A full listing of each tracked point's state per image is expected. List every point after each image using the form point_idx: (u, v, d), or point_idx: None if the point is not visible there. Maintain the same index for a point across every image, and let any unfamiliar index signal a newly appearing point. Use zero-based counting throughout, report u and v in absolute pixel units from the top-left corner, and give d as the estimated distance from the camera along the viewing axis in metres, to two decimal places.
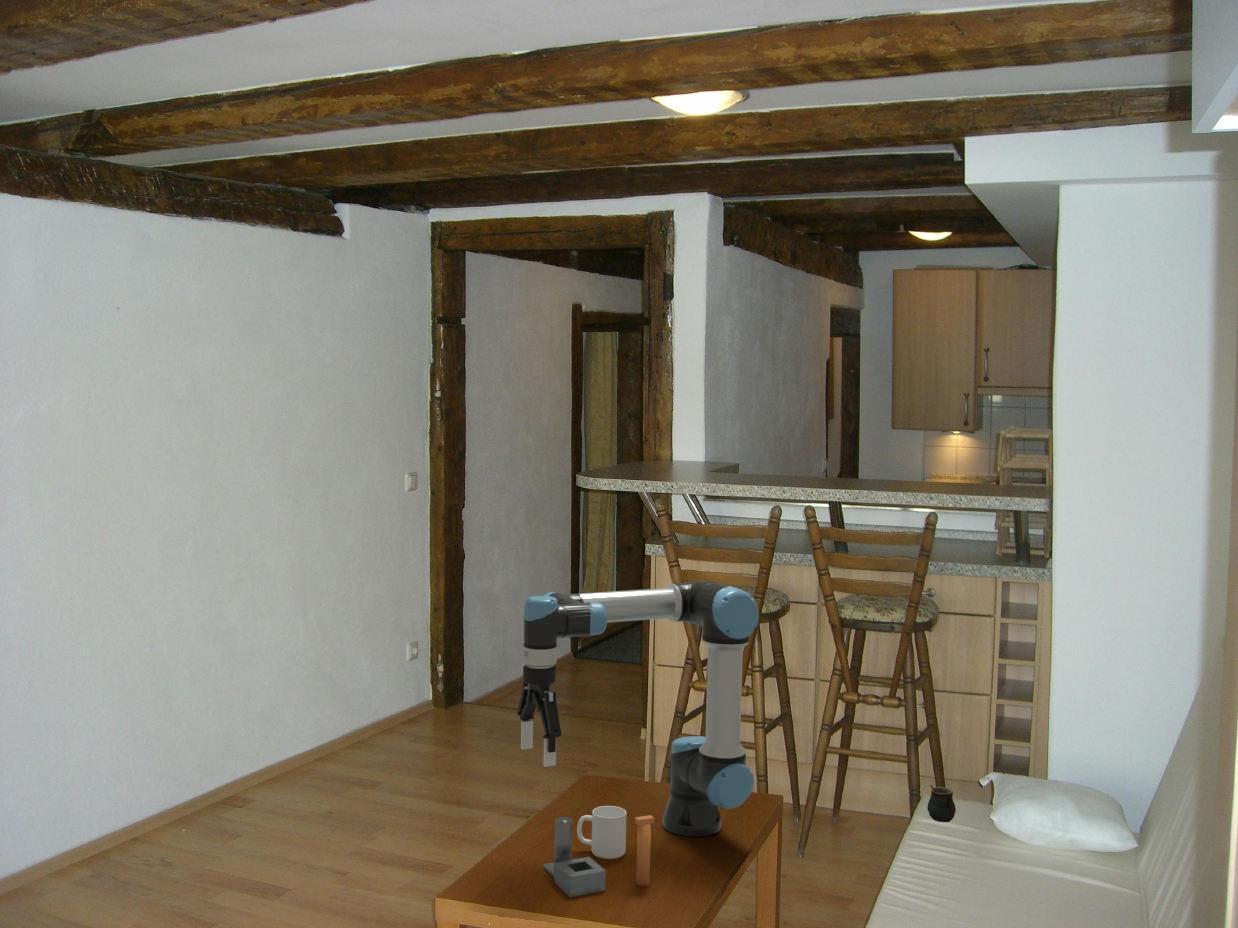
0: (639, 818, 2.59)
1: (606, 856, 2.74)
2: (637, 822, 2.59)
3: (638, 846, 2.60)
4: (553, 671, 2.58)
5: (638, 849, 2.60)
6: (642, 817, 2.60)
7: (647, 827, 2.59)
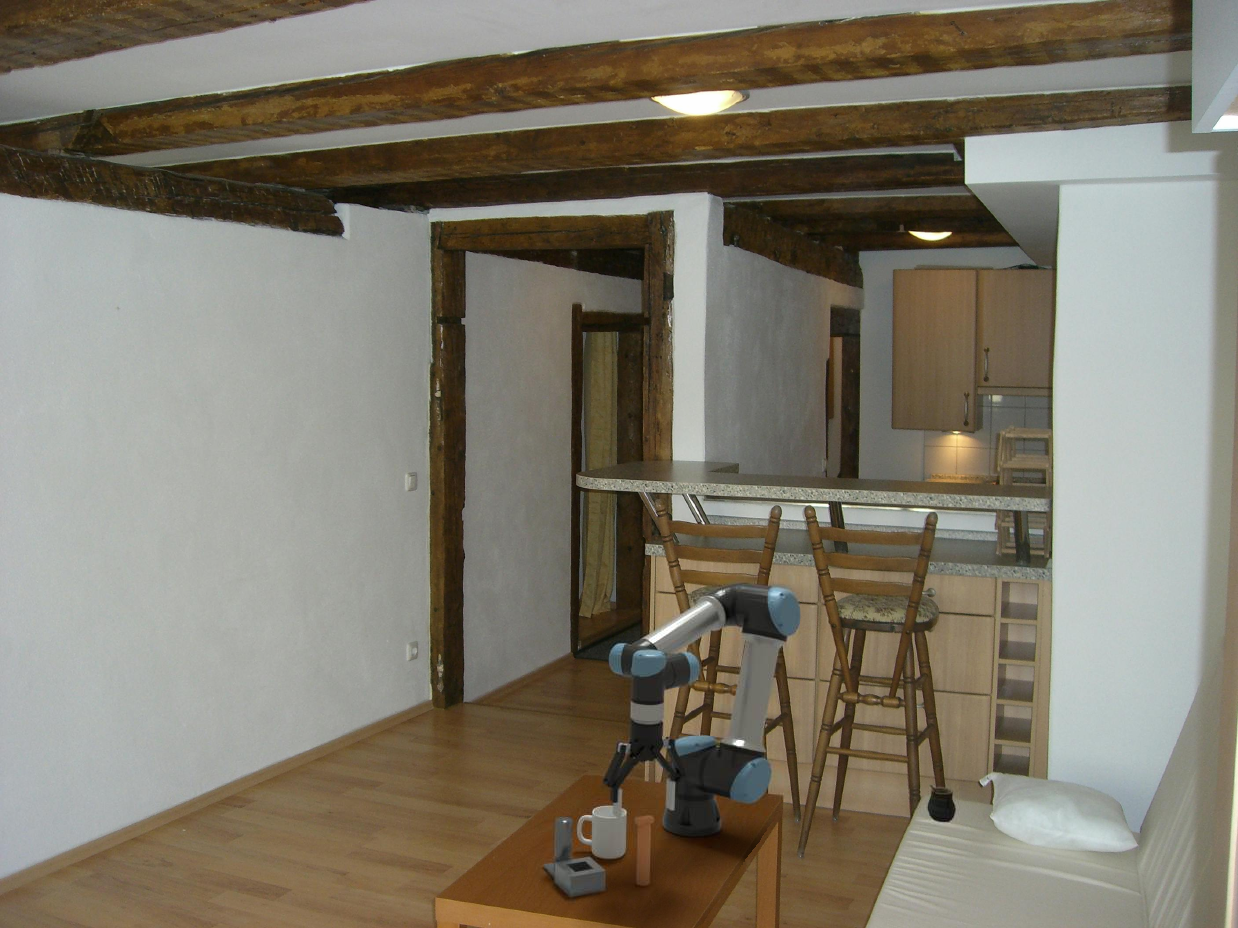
0: (639, 818, 2.59)
1: (606, 856, 2.74)
2: (637, 822, 2.59)
3: (638, 846, 2.60)
4: (638, 727, 2.56)
5: (638, 849, 2.60)
6: (642, 817, 2.60)
7: (647, 827, 2.59)
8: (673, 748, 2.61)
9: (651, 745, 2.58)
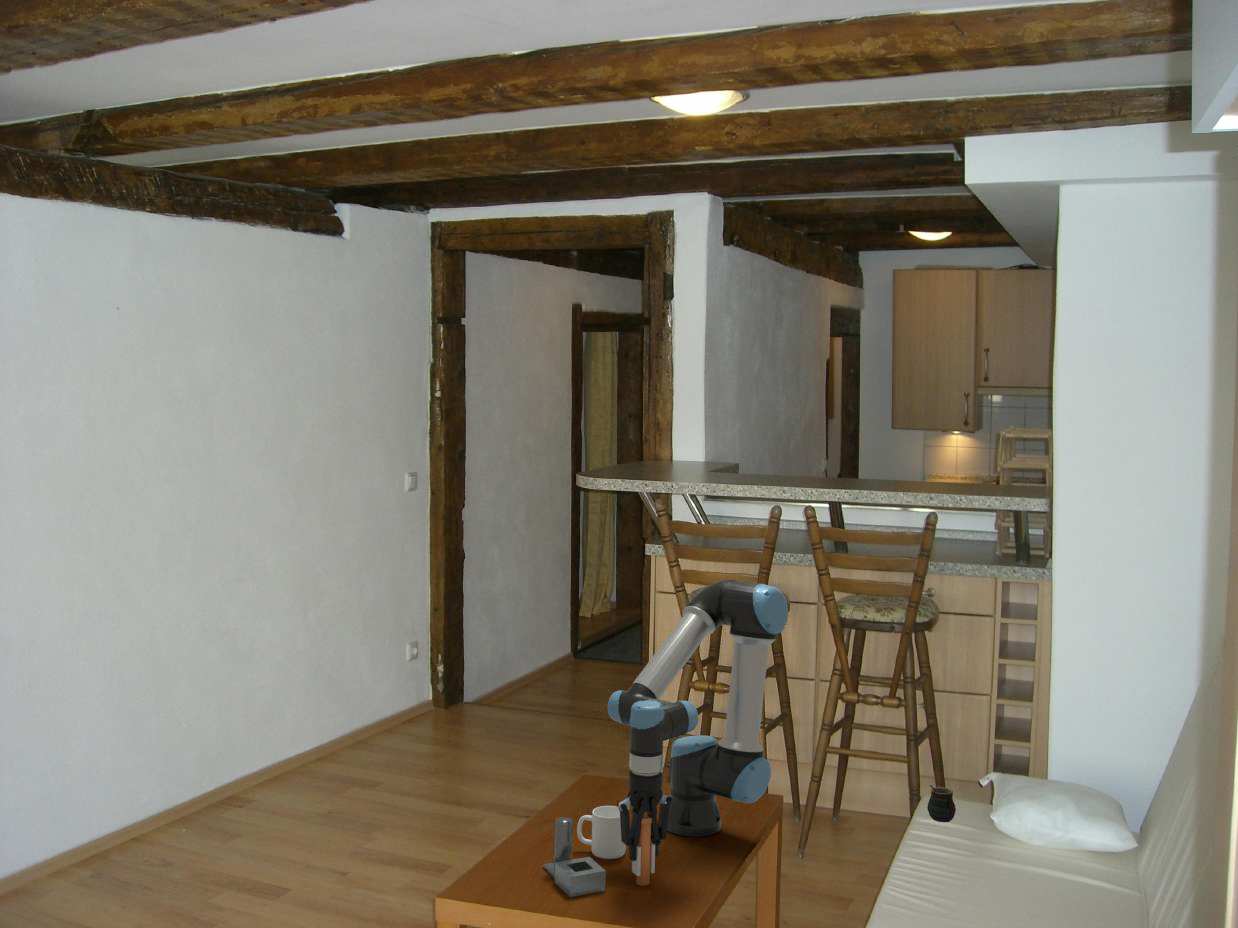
0: None
1: (606, 856, 2.74)
2: None
3: None
4: (637, 779, 2.56)
5: None
6: None
7: (647, 827, 2.59)
8: (667, 806, 2.61)
9: (650, 796, 2.59)
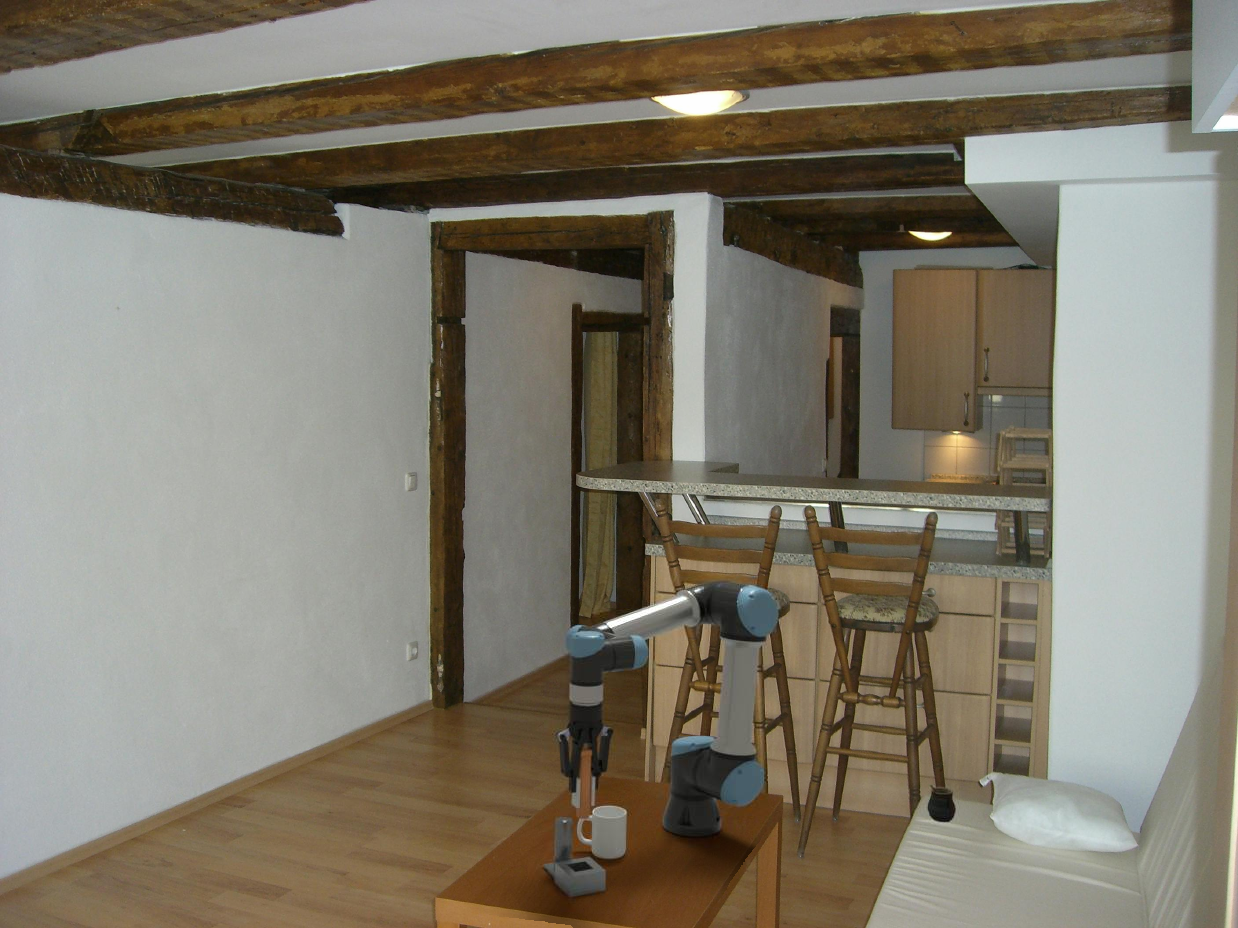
0: None
1: (606, 856, 2.74)
2: None
3: None
4: (577, 709, 2.53)
5: None
6: (583, 749, 2.56)
7: (587, 759, 2.55)
8: (608, 738, 2.58)
9: (590, 727, 2.55)
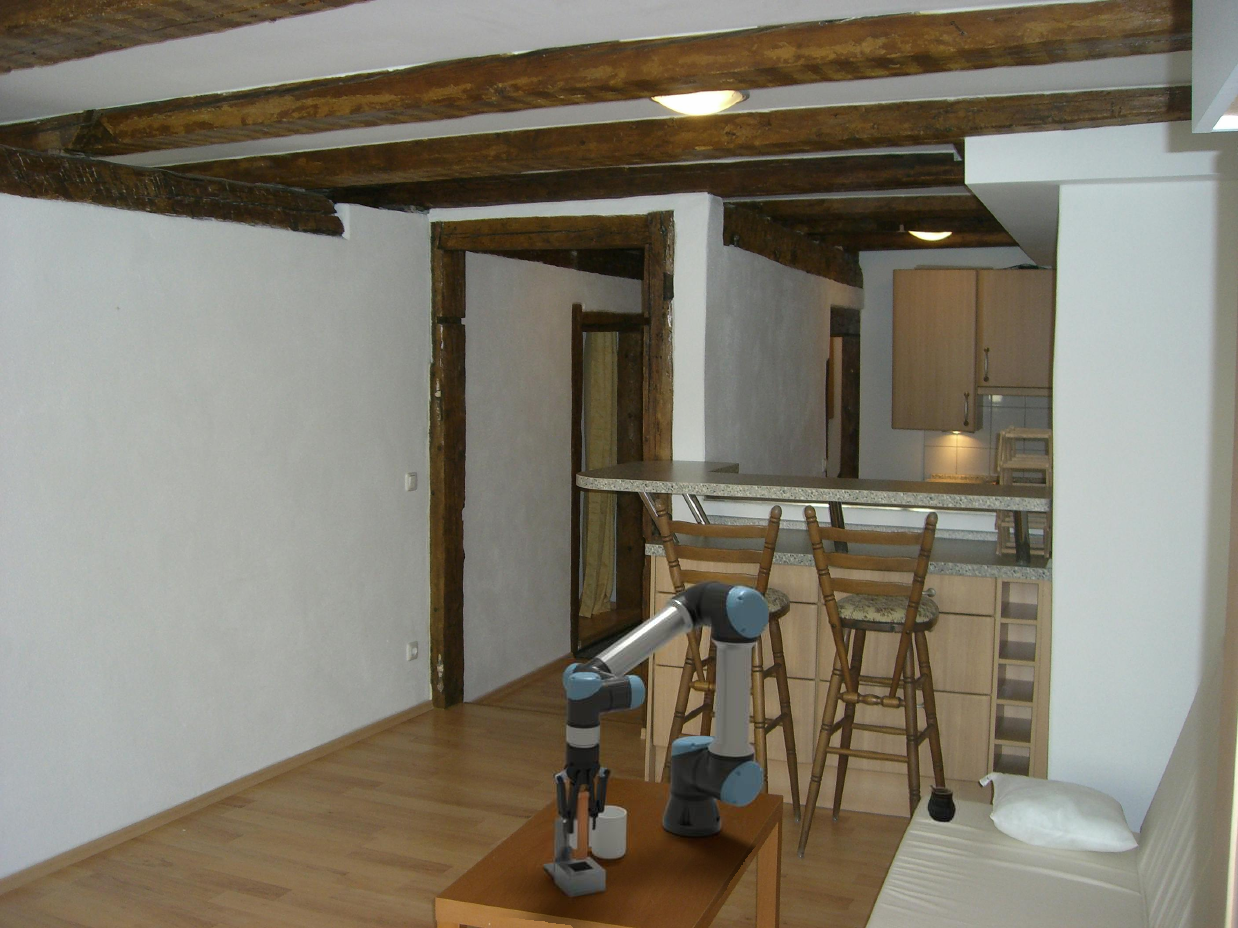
0: None
1: (606, 856, 2.74)
2: None
3: None
4: (574, 751, 2.53)
5: None
6: (580, 790, 2.57)
7: (585, 800, 2.56)
8: (605, 779, 2.58)
9: (587, 768, 2.56)
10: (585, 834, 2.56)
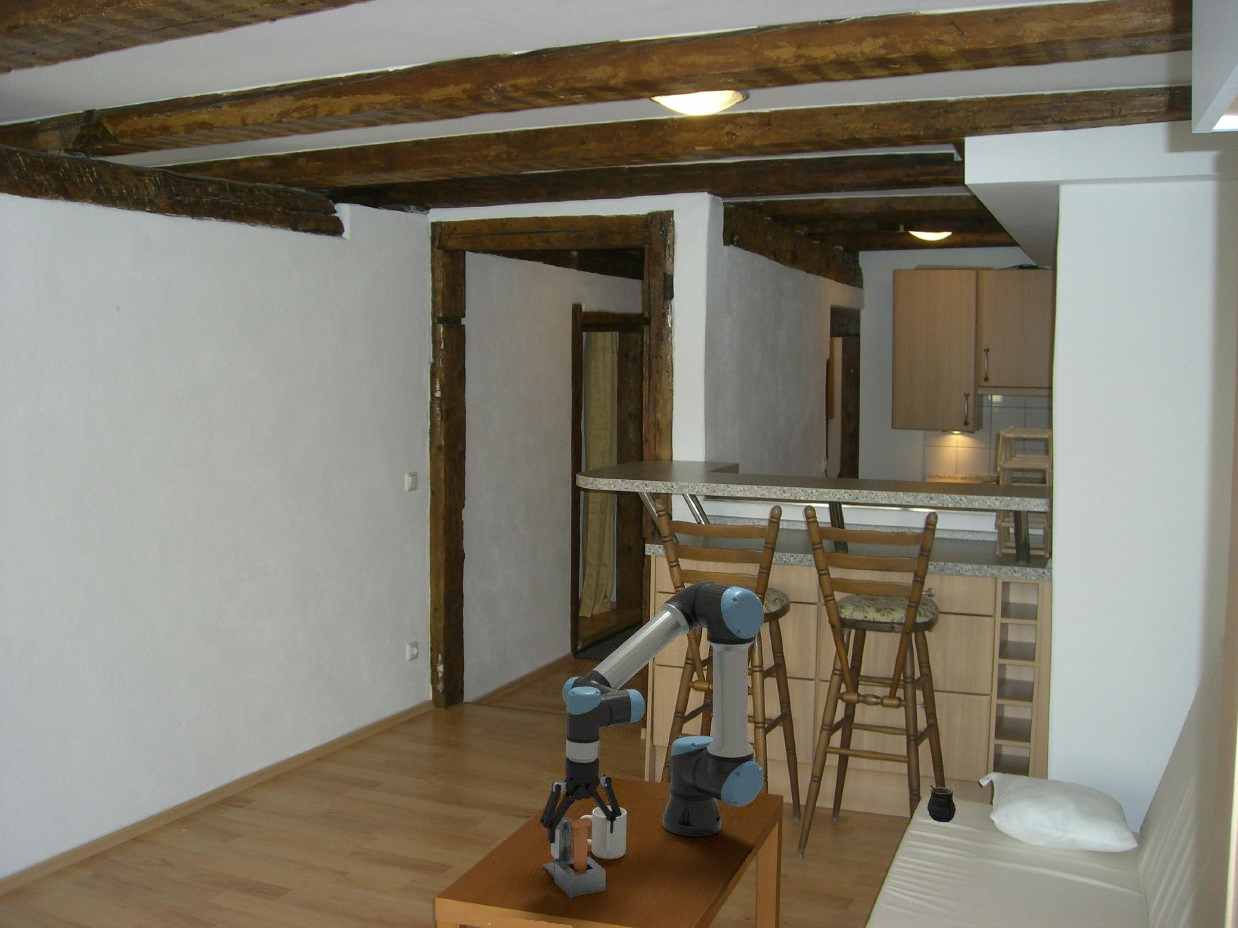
0: (575, 821, 2.56)
1: (606, 856, 2.74)
2: (573, 825, 2.56)
3: (575, 849, 2.57)
4: (573, 766, 2.53)
5: (575, 852, 2.57)
6: (579, 820, 2.57)
7: (584, 830, 2.56)
8: (609, 786, 2.59)
9: (586, 783, 2.56)
10: (585, 863, 2.57)
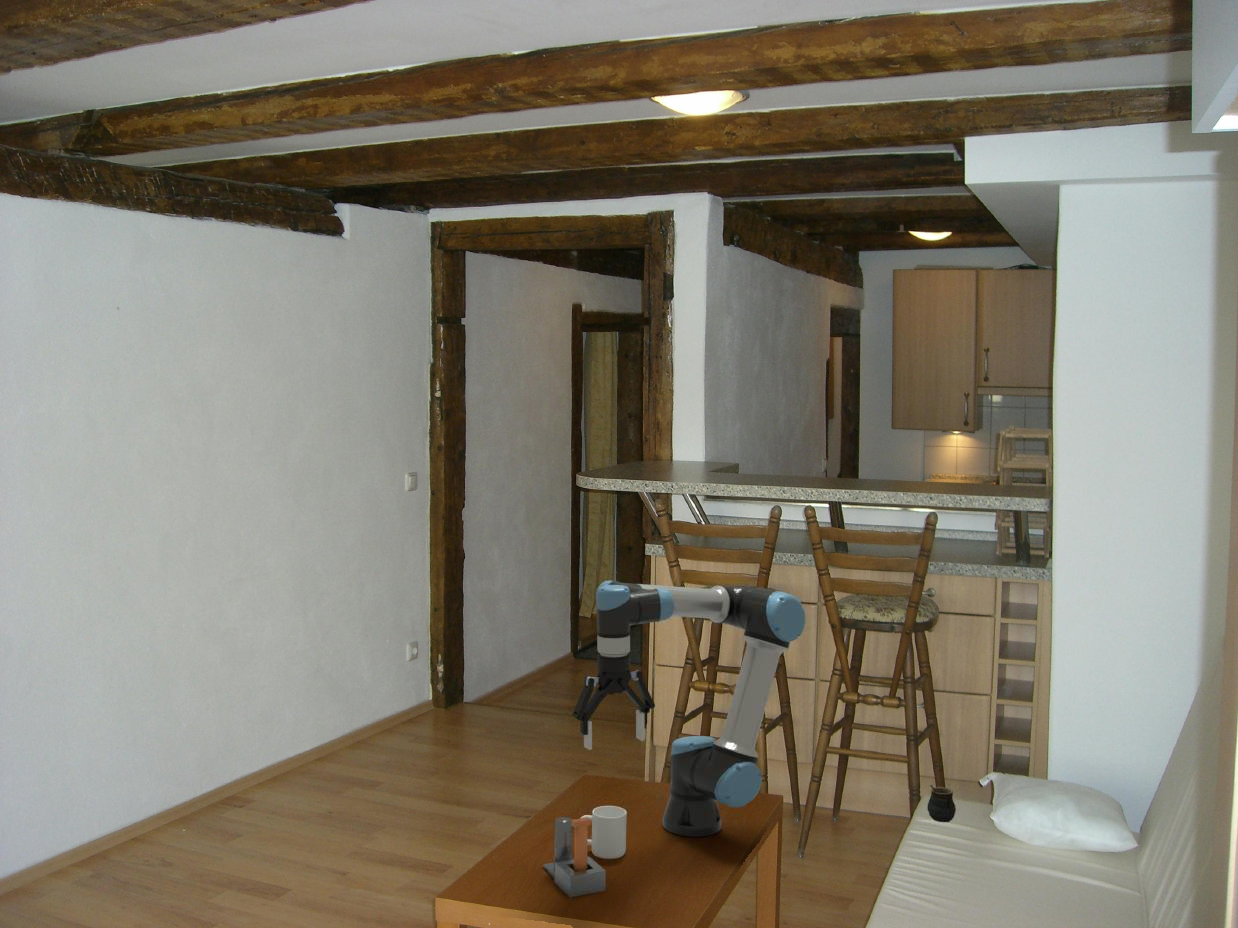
0: (575, 820, 2.57)
1: (606, 856, 2.74)
2: (573, 824, 2.56)
3: (575, 849, 2.57)
4: (605, 661, 2.60)
5: (575, 852, 2.57)
6: (579, 819, 2.58)
7: (584, 829, 2.56)
8: (641, 680, 2.66)
9: (618, 678, 2.63)
10: (585, 863, 2.57)
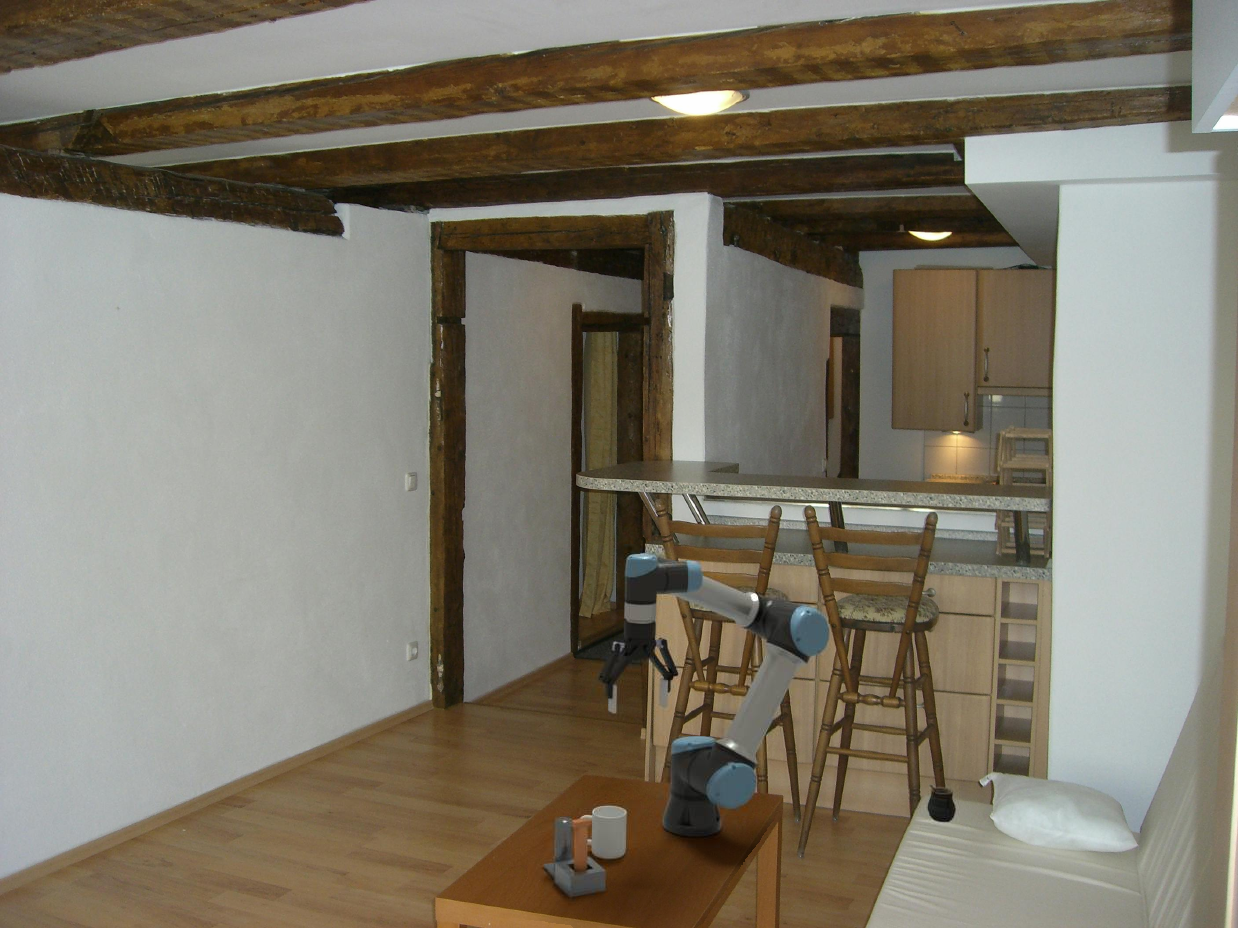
0: (575, 821, 2.57)
1: (606, 856, 2.74)
2: (573, 825, 2.56)
3: (575, 849, 2.57)
4: (632, 627, 2.67)
5: (575, 852, 2.57)
6: (579, 820, 2.57)
7: (584, 830, 2.56)
8: (665, 648, 2.72)
9: (644, 644, 2.70)
10: (585, 863, 2.57)
